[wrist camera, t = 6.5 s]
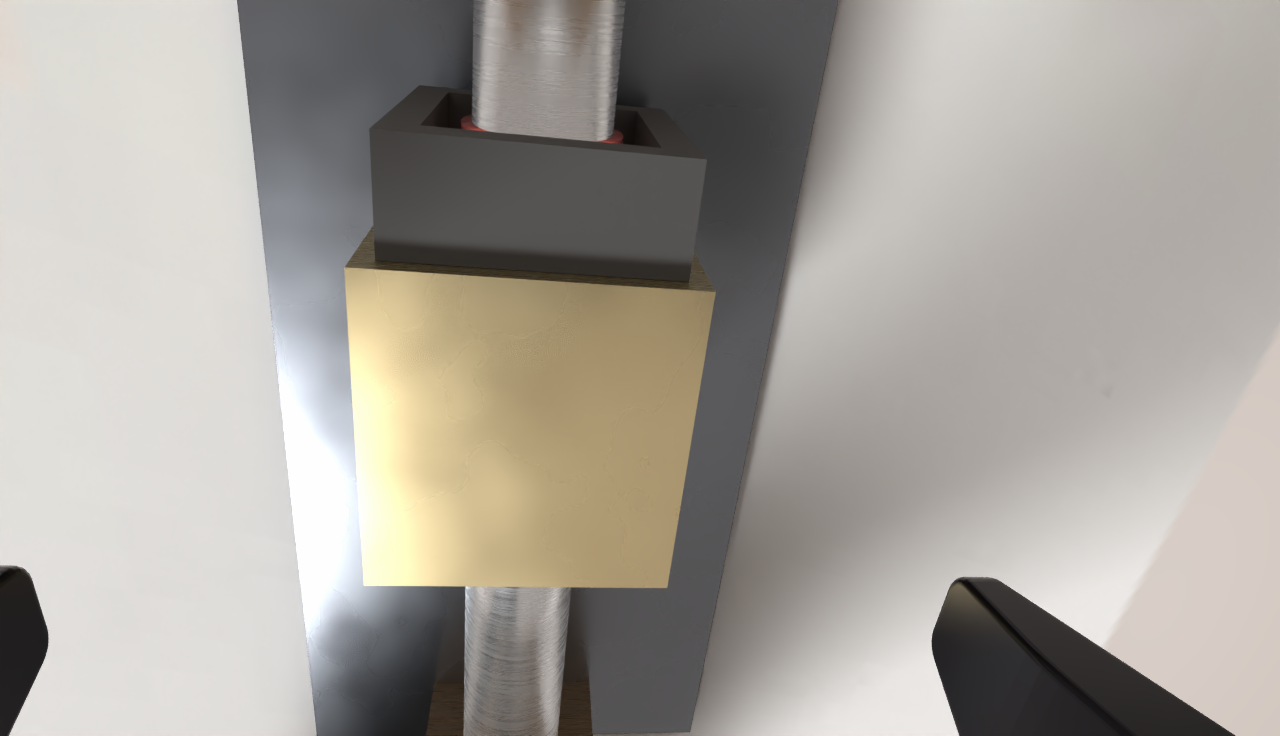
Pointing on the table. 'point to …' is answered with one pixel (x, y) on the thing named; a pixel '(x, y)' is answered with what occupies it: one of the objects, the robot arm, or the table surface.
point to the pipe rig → (319, 344)
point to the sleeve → (521, 422)
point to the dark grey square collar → (533, 193)
